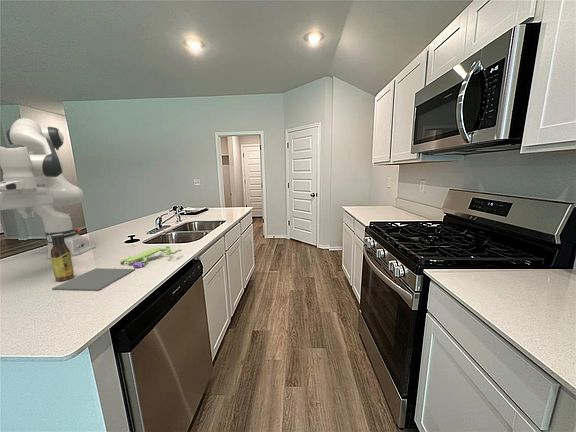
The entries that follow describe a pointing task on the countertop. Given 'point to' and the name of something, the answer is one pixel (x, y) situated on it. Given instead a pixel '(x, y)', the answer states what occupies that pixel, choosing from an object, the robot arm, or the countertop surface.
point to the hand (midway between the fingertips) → (28, 217)
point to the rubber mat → (94, 279)
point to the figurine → (143, 255)
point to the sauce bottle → (61, 259)
